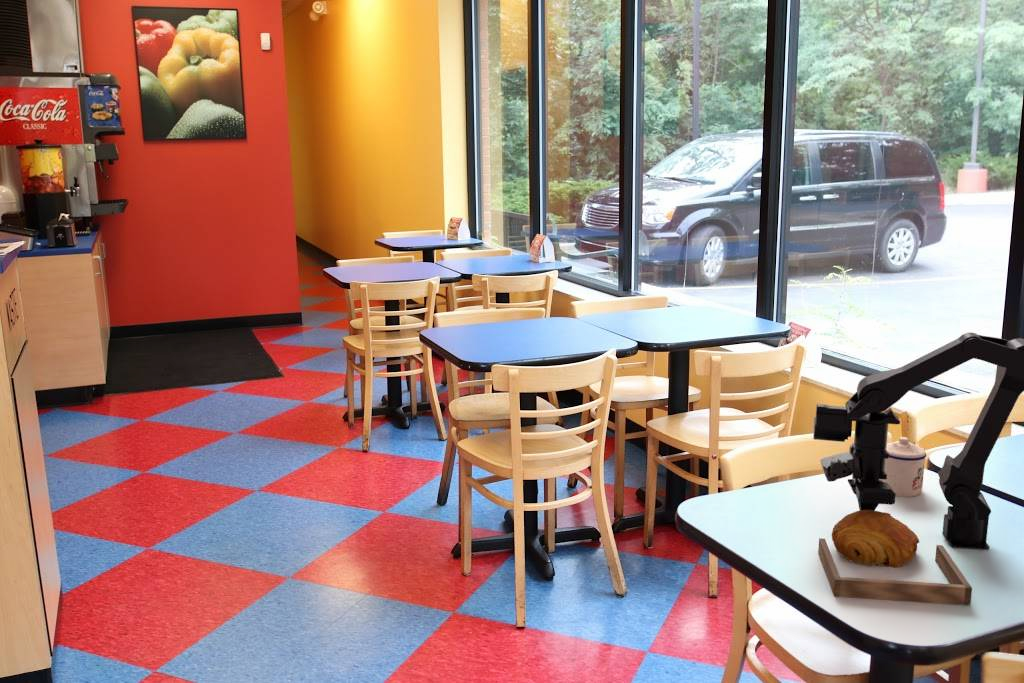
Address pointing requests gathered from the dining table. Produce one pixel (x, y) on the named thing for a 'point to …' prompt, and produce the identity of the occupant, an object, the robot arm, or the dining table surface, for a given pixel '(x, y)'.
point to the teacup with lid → (905, 467)
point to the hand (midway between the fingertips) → (864, 520)
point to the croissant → (874, 539)
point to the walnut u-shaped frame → (900, 583)
